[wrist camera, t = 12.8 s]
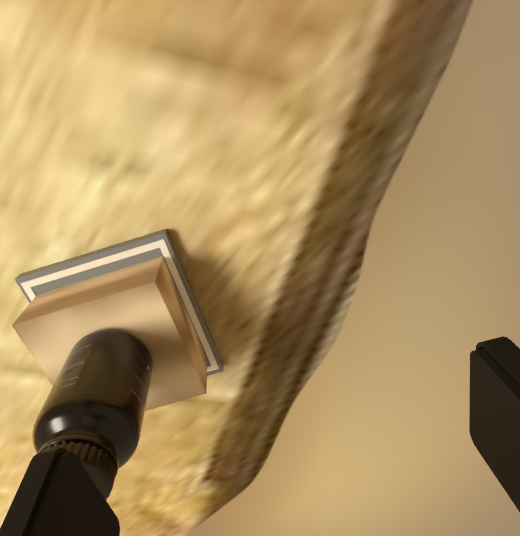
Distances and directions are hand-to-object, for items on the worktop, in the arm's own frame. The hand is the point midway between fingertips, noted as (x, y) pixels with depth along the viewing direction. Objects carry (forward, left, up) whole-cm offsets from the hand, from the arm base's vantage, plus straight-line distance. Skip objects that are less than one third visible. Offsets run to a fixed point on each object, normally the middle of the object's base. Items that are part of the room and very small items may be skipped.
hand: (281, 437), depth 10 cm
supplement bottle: (+11, -14, -23) cm, 29 cm away
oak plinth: (+11, -14, -28) cm, 33 cm away
